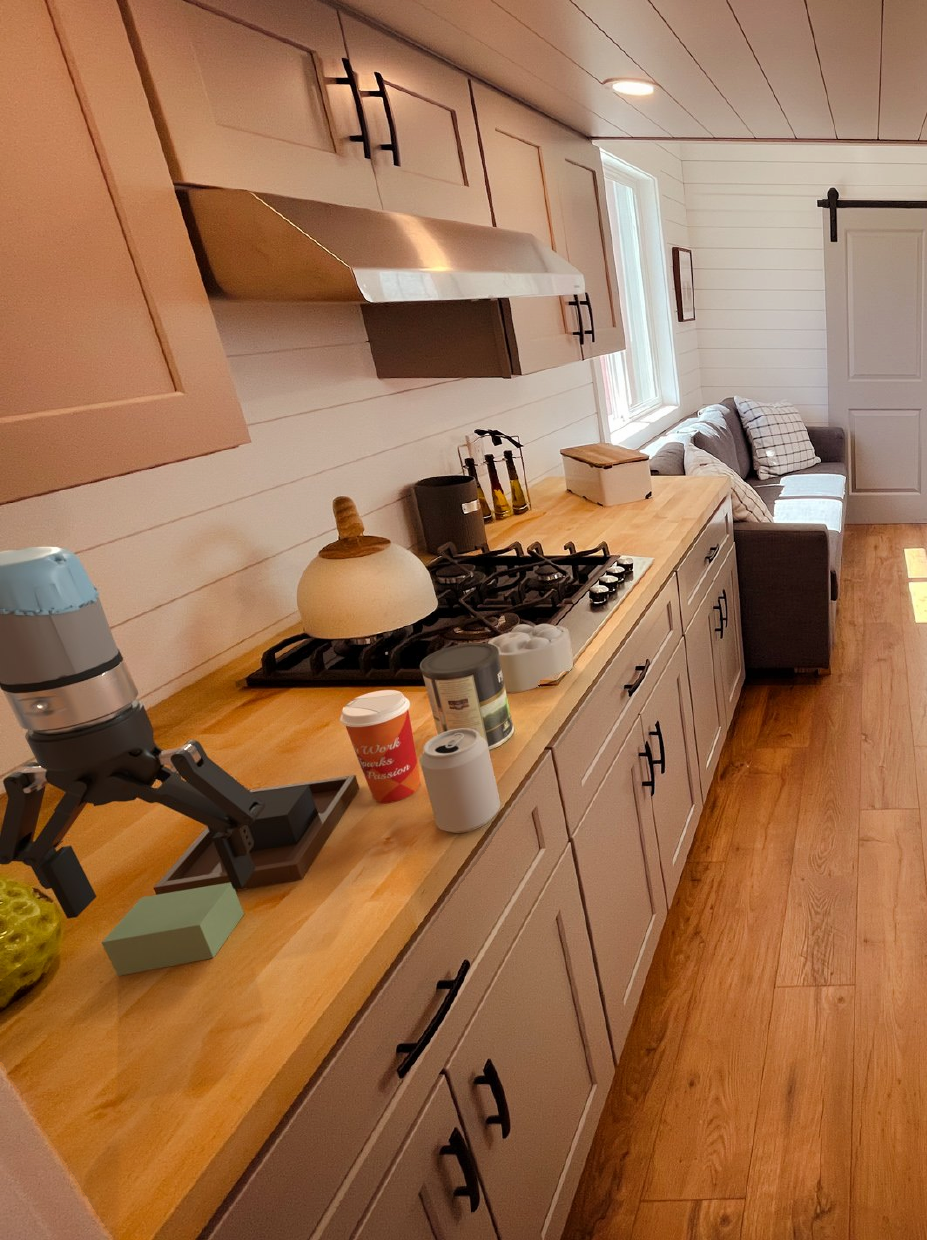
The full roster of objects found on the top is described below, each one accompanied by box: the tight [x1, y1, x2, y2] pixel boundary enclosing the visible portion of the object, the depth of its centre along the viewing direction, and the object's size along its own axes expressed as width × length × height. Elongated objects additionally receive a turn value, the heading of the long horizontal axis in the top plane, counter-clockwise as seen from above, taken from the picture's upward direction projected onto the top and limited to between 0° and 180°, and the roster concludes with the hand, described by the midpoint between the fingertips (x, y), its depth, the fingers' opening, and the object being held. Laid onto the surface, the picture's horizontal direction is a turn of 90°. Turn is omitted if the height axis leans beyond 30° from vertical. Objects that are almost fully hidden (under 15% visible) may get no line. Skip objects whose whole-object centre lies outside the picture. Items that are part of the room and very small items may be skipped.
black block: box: [208, 785, 318, 857], centre depth 90 cm, size 8×6×4 cm
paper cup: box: [339, 689, 421, 804], centre depth 98 cm, size 8×8×14 cm
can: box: [419, 728, 501, 834], centre depth 93 cm, size 8×8×12 cm
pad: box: [101, 882, 245, 977], centre depth 75 cm, size 8×6×4 cm
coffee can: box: [419, 642, 515, 751], centre depth 110 cm, size 10×10×14 cm
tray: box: [153, 774, 360, 895], centre depth 90 cm, size 14×18×2 cm
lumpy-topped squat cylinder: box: [487, 623, 574, 694], centre depth 130 cm, size 10×13×9 cm
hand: (165, 893), depth 74 cm, fingers open, 13 cm apart
